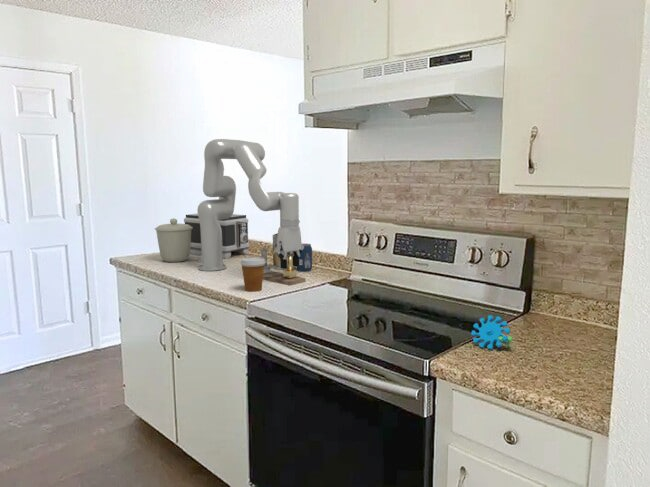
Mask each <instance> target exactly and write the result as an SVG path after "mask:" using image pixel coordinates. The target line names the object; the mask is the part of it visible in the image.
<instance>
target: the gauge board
mask: <svg viewBox="0 0 650 487" xmlns="http://www.w3.org/2000/svg"><path fill="white" fill-rule="evenodd" d="M260 254H261V255H260V257H261V258H264V260H265V265H264V272H263V280H265V281H269V282H273V283H277V284H282V285H286V286H293V285H296V284H302V283H305V282H306V277H302V276H298V275H297V277H293V278H283V279H282V277H283V272H278V271H274V270H271V269H272V268H271V265H270V264H268V249H267V248H262V249H260Z"/></svg>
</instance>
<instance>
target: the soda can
mask: <svg viewBox="0 0 650 487" xmlns="http://www.w3.org/2000/svg"><path fill="white" fill-rule="evenodd" d="M302 245H303V246H304V249H303V250H302V252H301V254H300V257H299V266H298V267H297V266H296V270H297V272H300V273H301V272H303V273H307V272H310V271H312V269H313V247H312V245H311V243H302Z"/></svg>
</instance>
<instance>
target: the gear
mask: <svg viewBox="0 0 650 487" xmlns="http://www.w3.org/2000/svg"><path fill="white" fill-rule="evenodd" d="M479 322H480V323H481V326H479V323H477V322H476V323H474V324H473V328H474V330H471V334H470V335H471V336H472V337H473V342H474V344H478V346H479V347H480V348H481V349H484V348H485V346H487V349H488V350H491V351H492V350H494V343H495V346H496V347H497V348H501V347H502V346H503V344H504V345H506V346H507V348H509V349H510V348H511V347H512V346H511V343H512V342H514V340H513V336H511V335H509V334H510V332H511V329H510V328H509V327H508V323H507V321H506V320H504V321H502V318H501V317H500V316H498V315H497V316H496V317H495V319H494V316H493V315H490V314H489V315H488V316H487V321H486V319H485V318H484V317H481V318H479ZM499 322H500V323H499ZM503 327H504V328H503ZM476 330H478V331H479V332H476ZM503 332H505V334H507V335H505V334H503ZM477 337H479V338H477ZM482 341H483V342H482Z"/></svg>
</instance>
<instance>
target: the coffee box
mask: <svg viewBox="0 0 650 487" xmlns="http://www.w3.org/2000/svg"><path fill="white" fill-rule="evenodd" d="M277 235H278V232H277V233H274V234H272V259H273V260H272V263H273V264H272V265H273V266H272V268H273V269H274V270H287V269H282V268H281V261H280V258H279V257H278V255H277V254H276V253H275V249H276V248H277ZM280 252H281V251H280ZM283 255H284V253H283ZM288 255H292V256H294V254H293V251H292V252H287V256H288ZM287 256H286V259H287ZM295 269H297V266H293V270H295Z"/></svg>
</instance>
